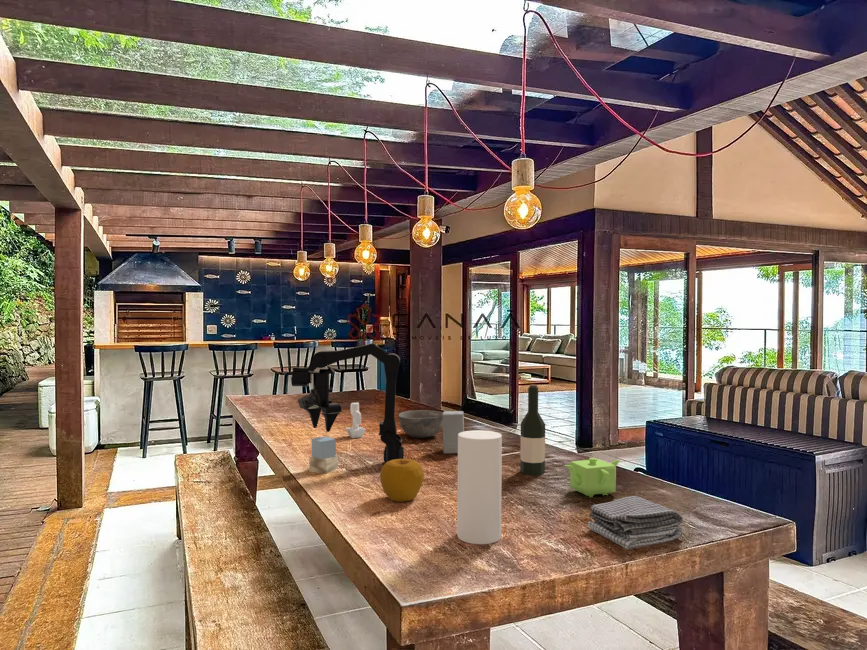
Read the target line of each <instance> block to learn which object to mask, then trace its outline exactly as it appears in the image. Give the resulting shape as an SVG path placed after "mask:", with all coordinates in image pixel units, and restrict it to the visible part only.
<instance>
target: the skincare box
mask: <svg viewBox="0 0 867 650" xmlns="http://www.w3.org/2000/svg"><path fill="white" fill-rule="evenodd" d="M442 413H443V414H442V419H443V427H442V445H443V446H442V447H443V448H442V449H443V454H458V434H459V433H461V432H464V431H465V416H464V415H465V413H464V411H463V410H457V411H456V410H455V411H450V410H449V411H447V410H446V411H443V412H442Z"/></svg>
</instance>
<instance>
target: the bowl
mask: <svg viewBox="0 0 867 650" xmlns="http://www.w3.org/2000/svg"><path fill="white" fill-rule="evenodd" d="M442 414H443V412H442V411H439V410H438V411H437V410H427V409H426V410H425V409H415V410H413V409H412V410H406V411H402V412H400V413H398V416H397V417H398V419H399V426H400V428H401V429H402V431H403V432H404V434H406V435H408V436H410V437H412V438H415V439H427V438H431V437H434V436H436V434H438V433H439V432H440V431H441V430H442V429H443V419H442Z"/></svg>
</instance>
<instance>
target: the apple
mask: <svg viewBox="0 0 867 650" xmlns="http://www.w3.org/2000/svg"><path fill="white" fill-rule="evenodd" d="M424 472H425V471H424V469H423V467H422V465H421V463H419V462H418V461H416V460H415V459H411V458H410V459H409V458H404V459H394V460H390V461H388V462H386V463H385V464H383V465H382V468H381V469H380V473H379V474H380V475H379V478H380V480H379V481H380V484H381V487H382V490H383V492H384V493H385V495H386V497H387V498H388V499H390V500H391V501H393V502H397V503H401V502H402V503H405V502H409V501H412V500H414V499H416V497H417V495H418V494H419V492H420V490H421V488H422V485H423V482H424V480H425V473H424Z"/></svg>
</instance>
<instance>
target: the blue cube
mask: <svg viewBox="0 0 867 650" xmlns="http://www.w3.org/2000/svg"><path fill="white" fill-rule="evenodd" d="M336 449H337V444H336V439H335V438H333V437H330V436H327V435H326V436H320V437H313V438H311V457H312V456H313V457H316V458H318V459H325V458H330V457H336V455H337V453H336V452H337V450H336Z"/></svg>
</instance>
